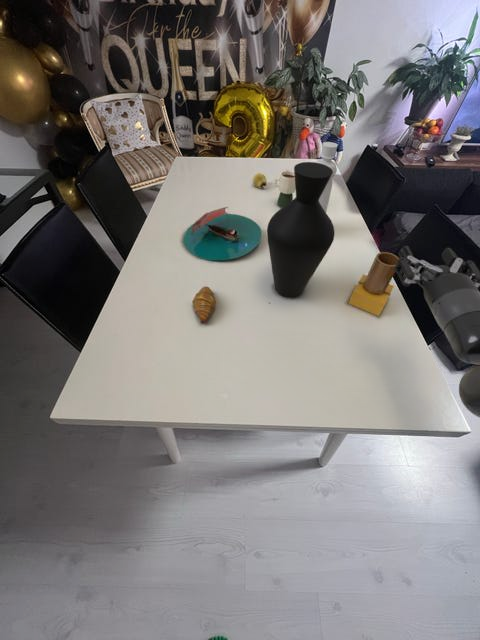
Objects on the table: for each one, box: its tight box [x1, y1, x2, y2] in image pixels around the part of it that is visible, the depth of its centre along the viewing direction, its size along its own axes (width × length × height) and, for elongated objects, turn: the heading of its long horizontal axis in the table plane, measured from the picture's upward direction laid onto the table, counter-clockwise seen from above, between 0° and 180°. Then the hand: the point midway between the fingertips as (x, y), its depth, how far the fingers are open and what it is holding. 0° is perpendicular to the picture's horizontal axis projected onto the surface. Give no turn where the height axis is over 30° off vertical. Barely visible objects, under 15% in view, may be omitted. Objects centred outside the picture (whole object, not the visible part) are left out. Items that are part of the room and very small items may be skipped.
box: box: [348, 273, 395, 317], centre depth 87 cm, size 9×9×5 cm
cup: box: [363, 251, 399, 295], centre depth 81 cm, size 6×6×10 cm
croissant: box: [191, 286, 217, 324], centre depth 83 cm, size 14×7×5 cm, turn 1°
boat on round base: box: [182, 206, 263, 261], centre depth 104 cm, size 28×28×11 cm
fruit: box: [252, 172, 268, 190], centre depth 134 cm, size 6×6×10 cm
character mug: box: [273, 170, 296, 209], centre depth 120 cm, size 11×7×13 cm, turn 81°
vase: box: [266, 161, 335, 299], centre depth 78 cm, size 17×17×35 cm
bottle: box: [315, 141, 338, 213], centre depth 101 cm, size 9×9×30 cm
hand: (424, 250), depth 62 cm, fingers open, 8 cm apart
